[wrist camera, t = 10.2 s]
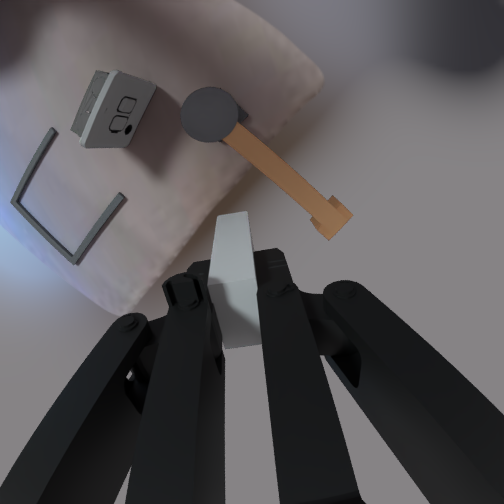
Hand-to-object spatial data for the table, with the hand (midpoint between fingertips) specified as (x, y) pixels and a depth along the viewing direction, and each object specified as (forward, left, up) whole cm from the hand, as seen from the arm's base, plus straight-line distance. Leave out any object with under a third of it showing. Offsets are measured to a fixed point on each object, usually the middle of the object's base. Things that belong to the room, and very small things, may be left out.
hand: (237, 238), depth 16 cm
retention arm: (0, +4, -13) cm, 13 cm away
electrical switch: (-16, -5, -26) cm, 31 cm away
